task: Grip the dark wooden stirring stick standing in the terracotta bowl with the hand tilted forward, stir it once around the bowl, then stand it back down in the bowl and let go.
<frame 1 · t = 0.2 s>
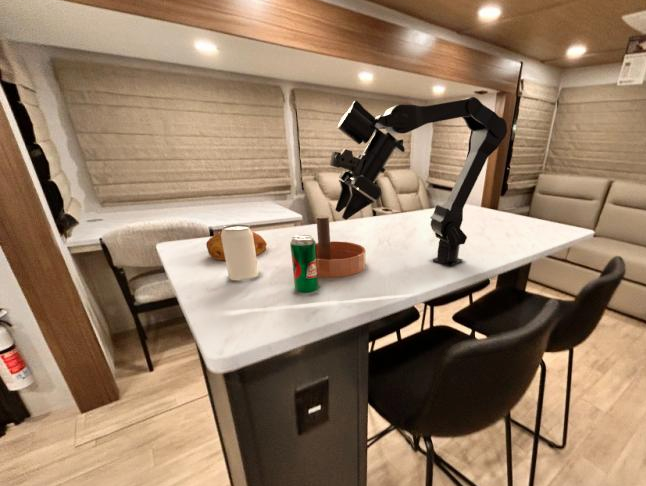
hand: (340, 214, 74), 14 cm above the table, tool tilted 35°, fingers open, 9 cm apart
soda can: (307, 291, 68), on the table
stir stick: (325, 266, 80), point 1 cm above the table, touching bowl
croissant: (240, 254, 89), on the table
can: (244, 277, 74), on the table
bowl: (334, 268, 81), on the table
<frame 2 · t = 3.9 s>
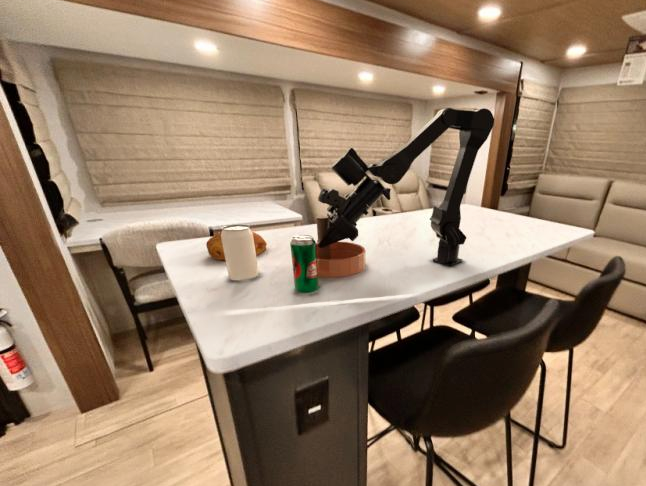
hand: (318, 244, 78), 7 cm above the table, tool tilted 45°, fingers closed on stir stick, 3 cm apart
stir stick: (325, 266, 80), point 1 cm above the table, touching bowl, gripper
everything else where it was.
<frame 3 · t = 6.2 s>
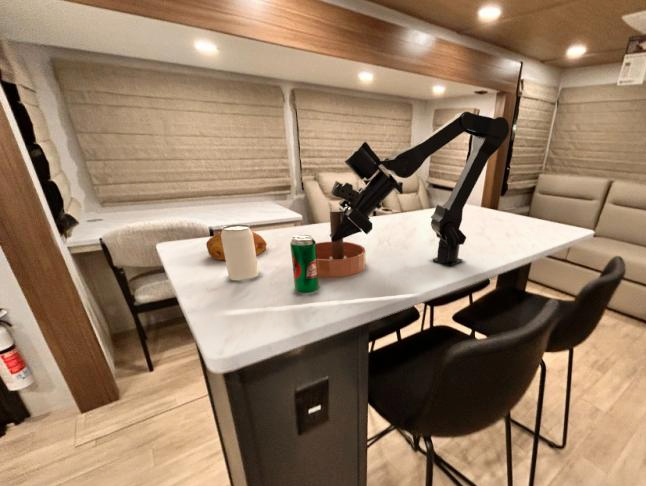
hand: (331, 238, 78), 8 cm above the table, tool tilted 45°, fingers closed on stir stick, 3 cm apart
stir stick: (338, 260, 81), point 2 cm above the table, touching gripper
everything else where it was.
when the fingers open (7 cm above the table, at t = 8.9 s): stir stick stays where it is, resting on bowl.
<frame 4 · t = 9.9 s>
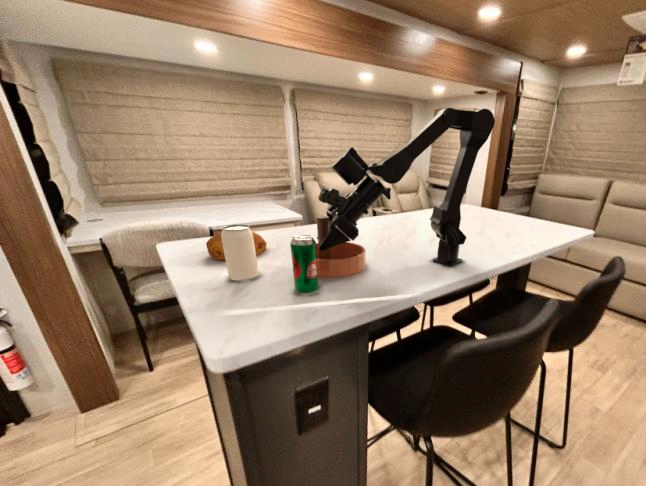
hand: (318, 244, 78), 7 cm above the table, tool tilted 45°, fingers open, 9 cm apart
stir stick: (325, 266, 80), point 1 cm above the table, touching bowl
everything else where it was.
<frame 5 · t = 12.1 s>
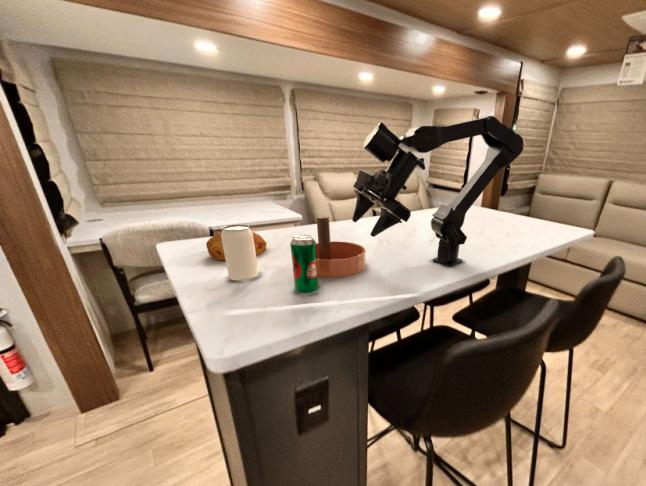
hand: (362, 228, 78), 11 cm above the table, tool tilted 35°, fingers open, 9 cm apart
nothing on the table moved.
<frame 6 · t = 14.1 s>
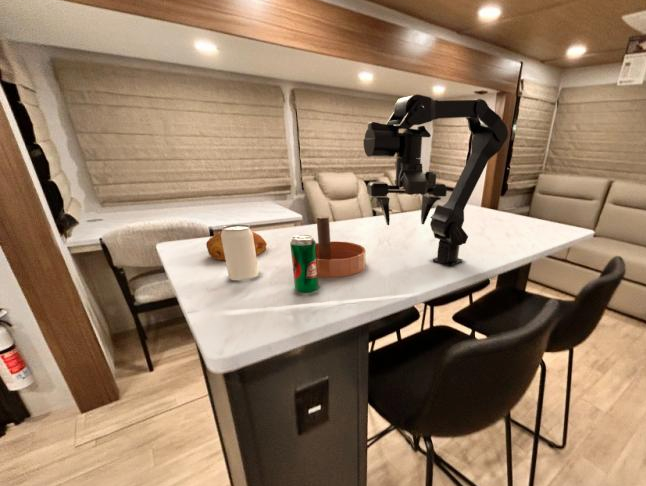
hand: (405, 224, 78), 12 cm above the table, tool pointing down, fingers open, 9 cm apart
nothing on the table moved.
at the end: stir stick inside the target area in the bowl (2.2 cm from its centre), point 0.6 cm above the bowl's base; the gripper is holding nothing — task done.
